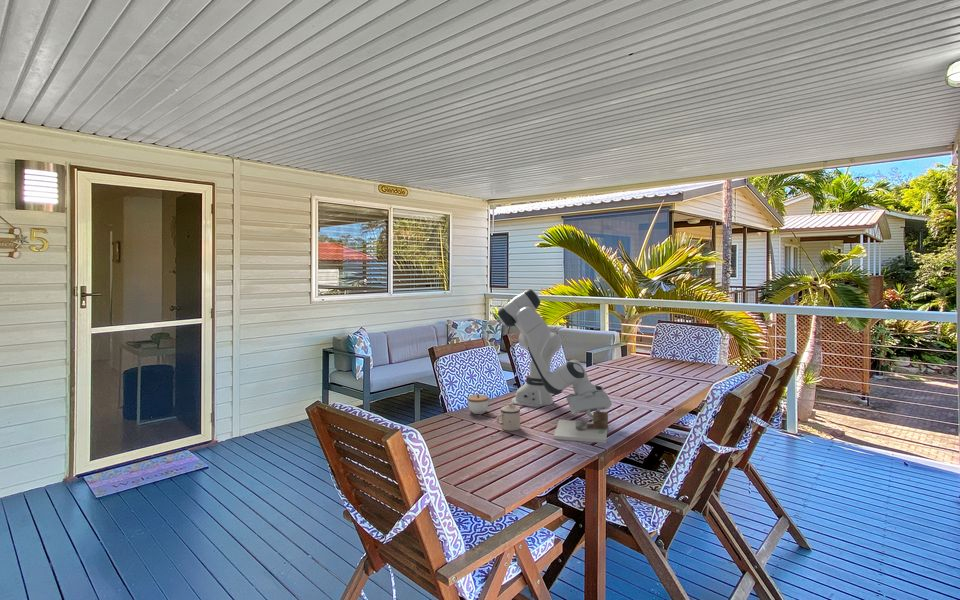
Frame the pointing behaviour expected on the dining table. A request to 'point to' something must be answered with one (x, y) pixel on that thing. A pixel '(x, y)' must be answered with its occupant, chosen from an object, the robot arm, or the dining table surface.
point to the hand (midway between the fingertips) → (596, 419)
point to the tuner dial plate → (579, 432)
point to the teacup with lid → (509, 417)
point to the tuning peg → (594, 422)
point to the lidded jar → (478, 403)
